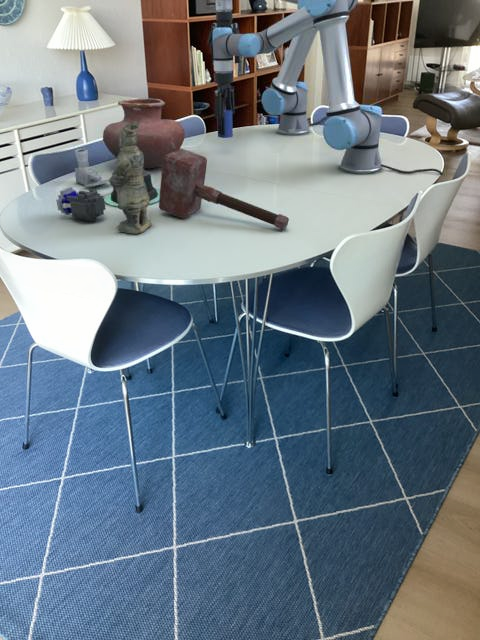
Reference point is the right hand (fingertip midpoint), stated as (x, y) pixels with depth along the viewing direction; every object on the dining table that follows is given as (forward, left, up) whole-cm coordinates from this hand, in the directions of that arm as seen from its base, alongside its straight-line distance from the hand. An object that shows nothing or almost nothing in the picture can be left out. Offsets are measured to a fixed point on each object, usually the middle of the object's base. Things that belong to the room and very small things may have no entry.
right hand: (225, 132), depth 229 cm
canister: (0, 0, -2) cm, 2 cm away
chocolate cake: (+28, +55, -9) cm, 63 cm away
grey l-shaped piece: (+46, +41, -9) cm, 62 cm away
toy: (+40, +76, -9) cm, 86 cm away
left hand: (+2, -50, +22) cm, 54 cm away
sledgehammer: (-3, +79, -9) cm, 79 cm away
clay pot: (+30, +18, -9) cm, 36 cm away
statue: (+23, +85, -9) cm, 88 cm away
